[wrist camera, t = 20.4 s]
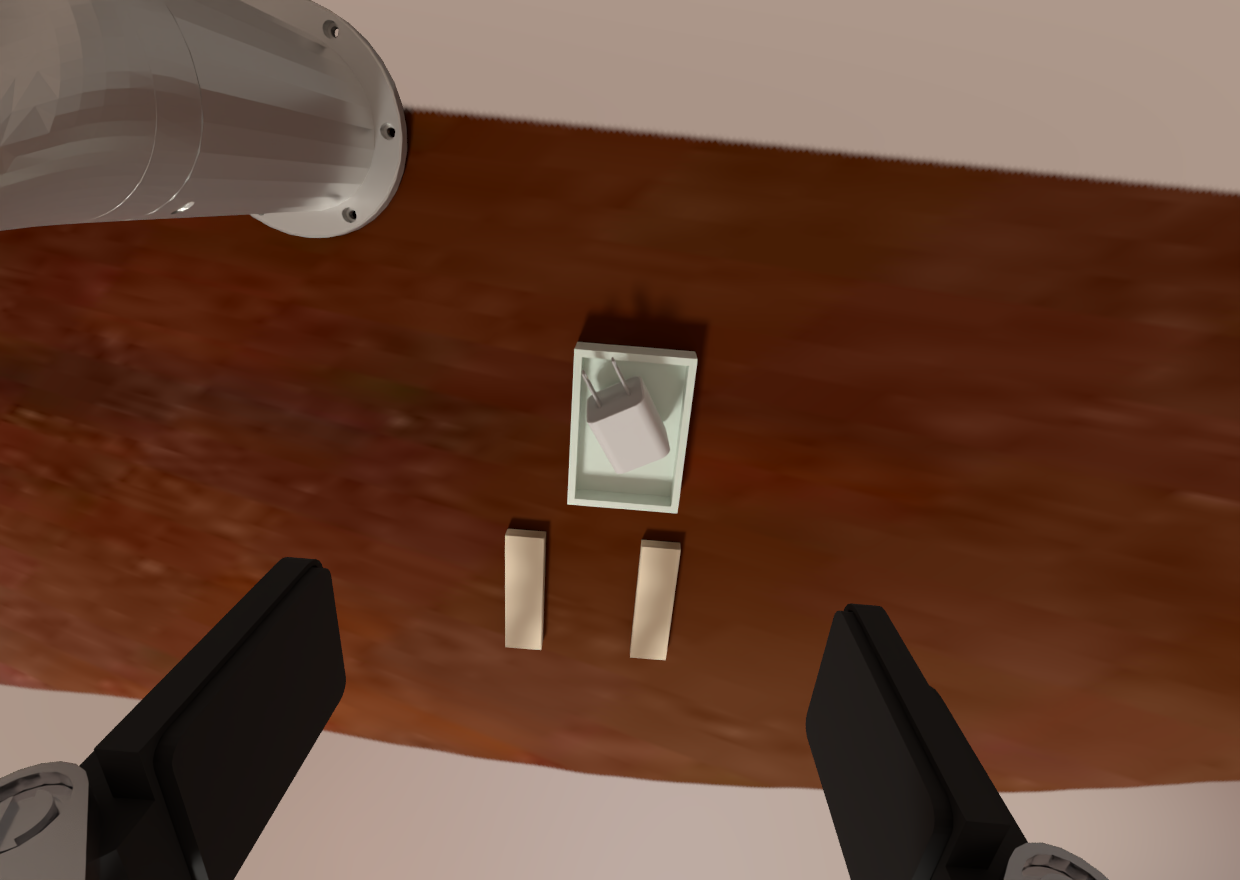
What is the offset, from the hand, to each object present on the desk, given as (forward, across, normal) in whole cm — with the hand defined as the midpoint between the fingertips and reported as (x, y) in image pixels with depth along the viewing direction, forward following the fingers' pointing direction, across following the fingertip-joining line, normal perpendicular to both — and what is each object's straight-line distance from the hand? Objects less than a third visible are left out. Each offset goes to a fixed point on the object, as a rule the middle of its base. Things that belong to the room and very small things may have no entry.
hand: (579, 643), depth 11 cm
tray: (+30, -1, +8) cm, 31 cm away
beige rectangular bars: (+30, +1, +22) cm, 38 cm away
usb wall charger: (+29, 0, +5) cm, 30 cm away
